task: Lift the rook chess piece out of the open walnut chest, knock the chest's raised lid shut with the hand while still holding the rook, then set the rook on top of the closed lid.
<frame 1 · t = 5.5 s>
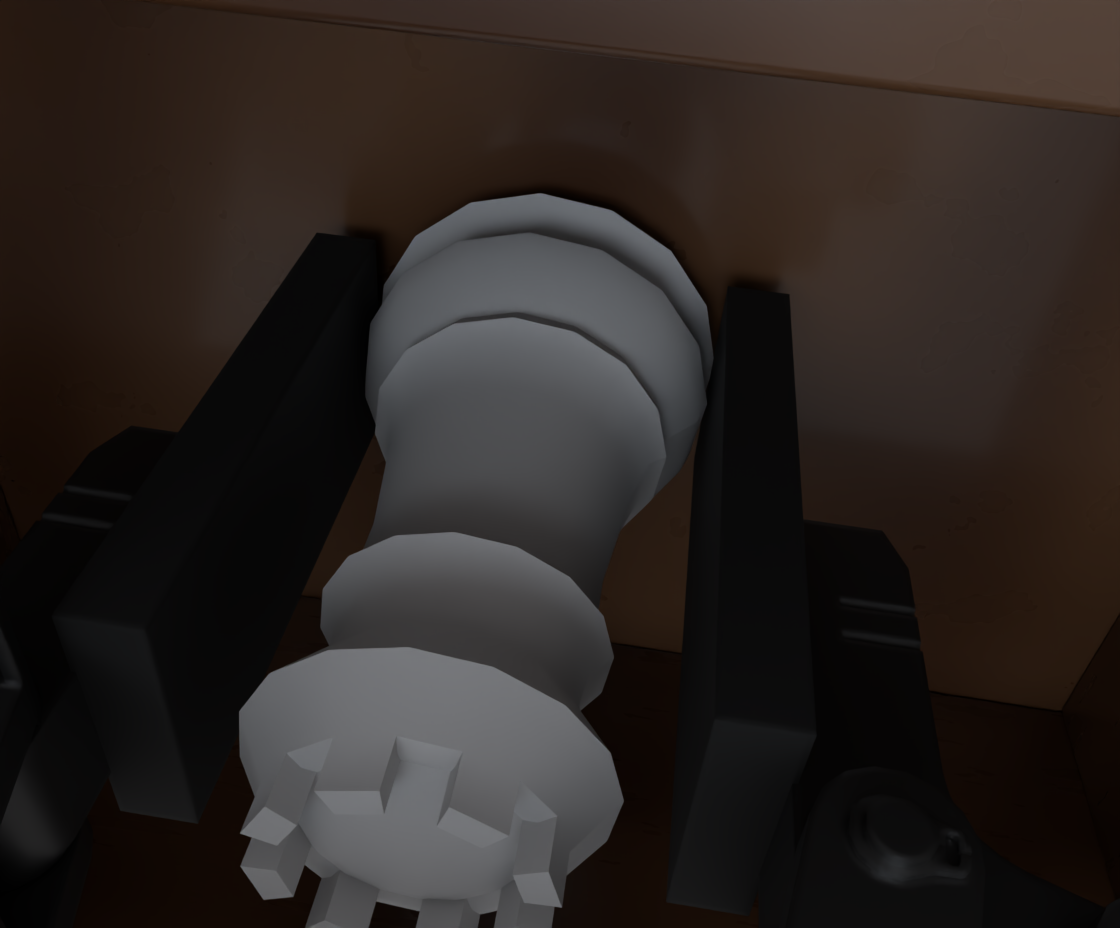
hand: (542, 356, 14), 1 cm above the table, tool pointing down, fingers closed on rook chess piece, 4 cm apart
rook chess piece: (551, 325, 14), resting on chest, touching gripper
chest: (555, 310, 15), on the table
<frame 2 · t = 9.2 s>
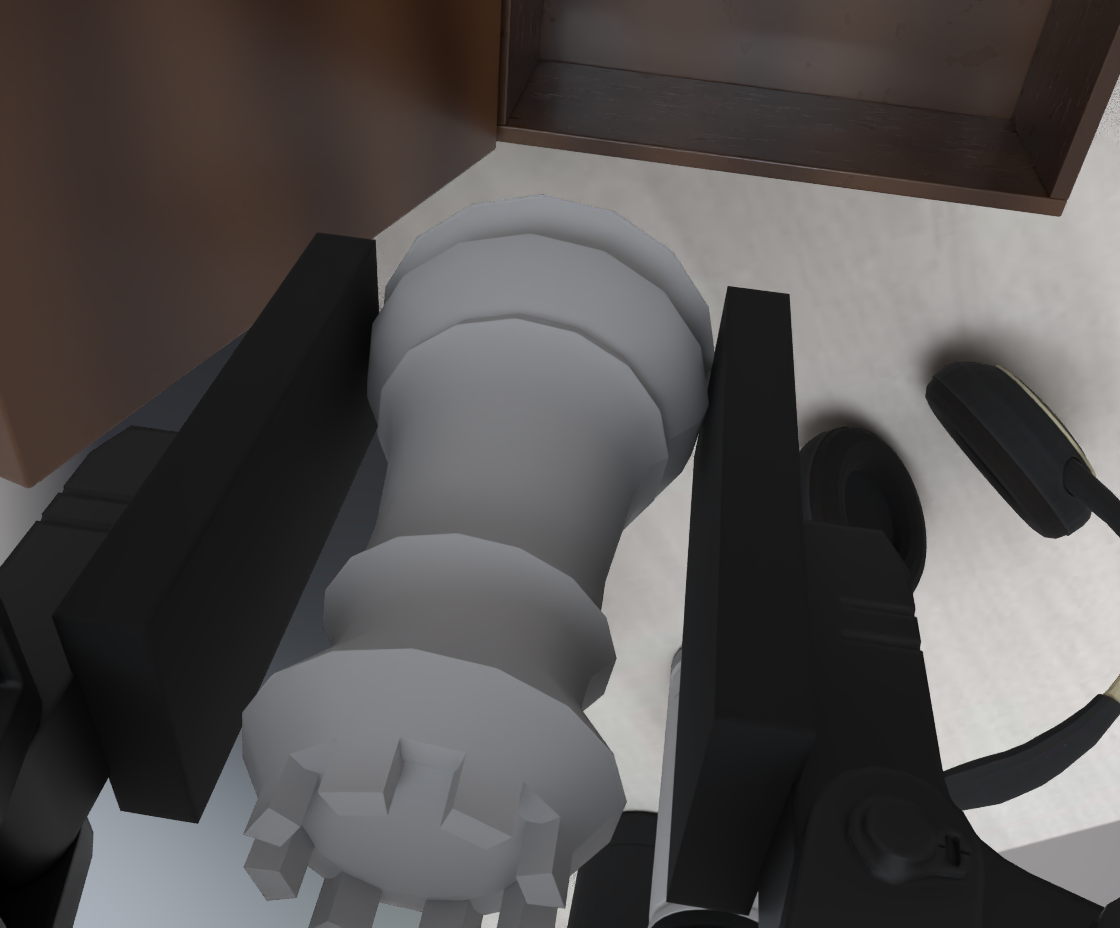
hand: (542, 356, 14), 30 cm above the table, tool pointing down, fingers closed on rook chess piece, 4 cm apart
rook chess piece: (552, 326, 14), point 29 cm above the table, touching gripper
travel mug: (721, 665, 62), on the table
headphones: (918, 426, 50), on the table
pen holder: (645, 842, 75), on the table
chest lid: (287, 15, 24), point 18 cm above the table, hinge at 106.1°
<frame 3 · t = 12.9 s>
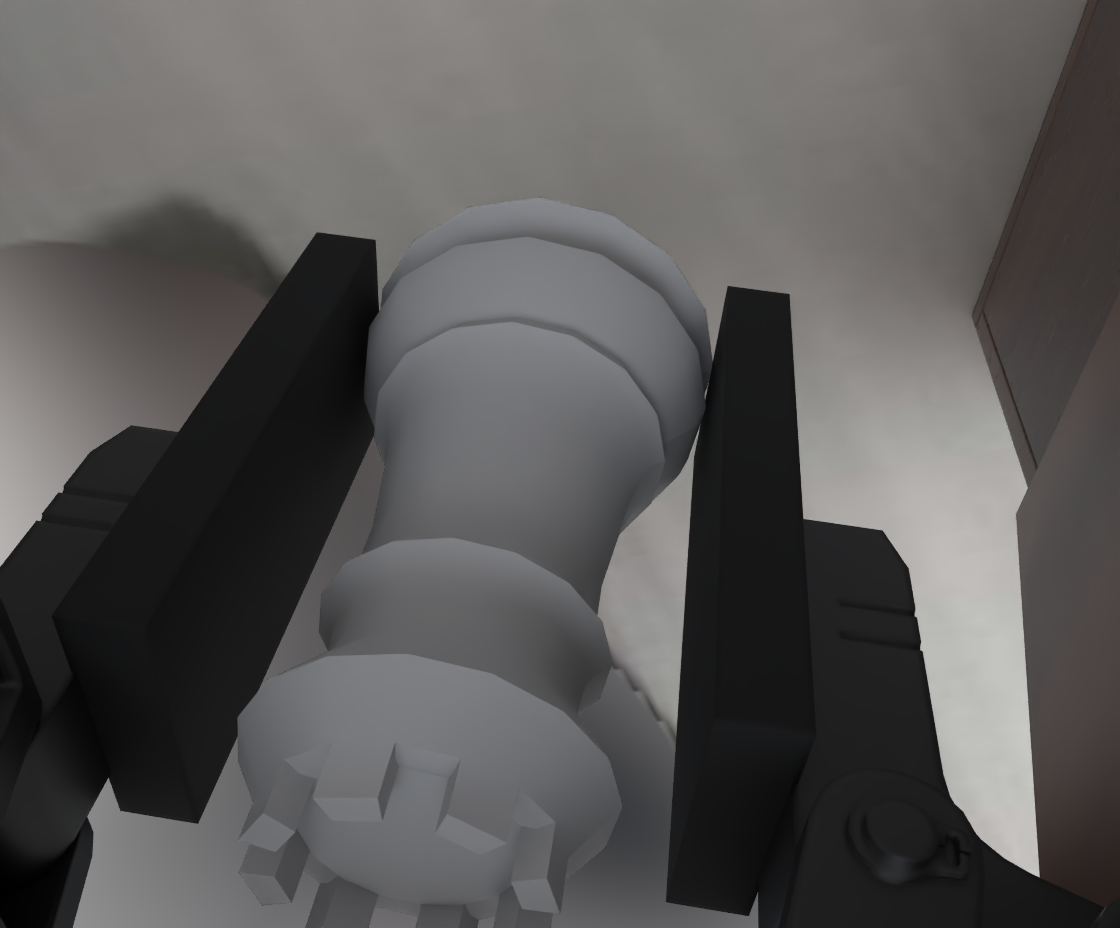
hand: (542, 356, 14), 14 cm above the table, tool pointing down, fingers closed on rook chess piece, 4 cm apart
rook chess piece: (550, 328, 14), point 13 cm above the table, touching gripper
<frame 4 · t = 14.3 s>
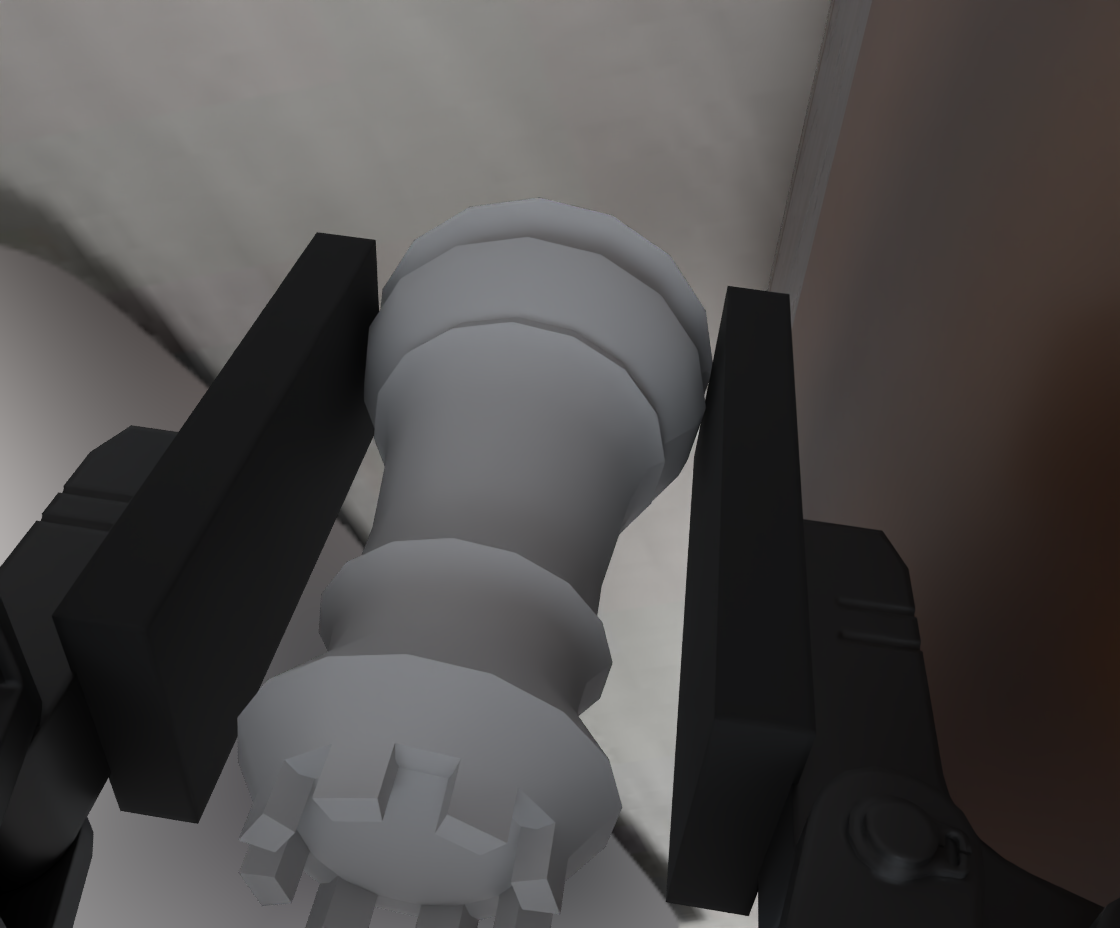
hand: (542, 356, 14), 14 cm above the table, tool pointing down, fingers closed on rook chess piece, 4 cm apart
rook chess piece: (549, 328, 14), point 13 cm above the table, touching gripper
chest lid: (1076, 672, 10), point 18 cm above the table, hinge at 81.9°, touching gripper
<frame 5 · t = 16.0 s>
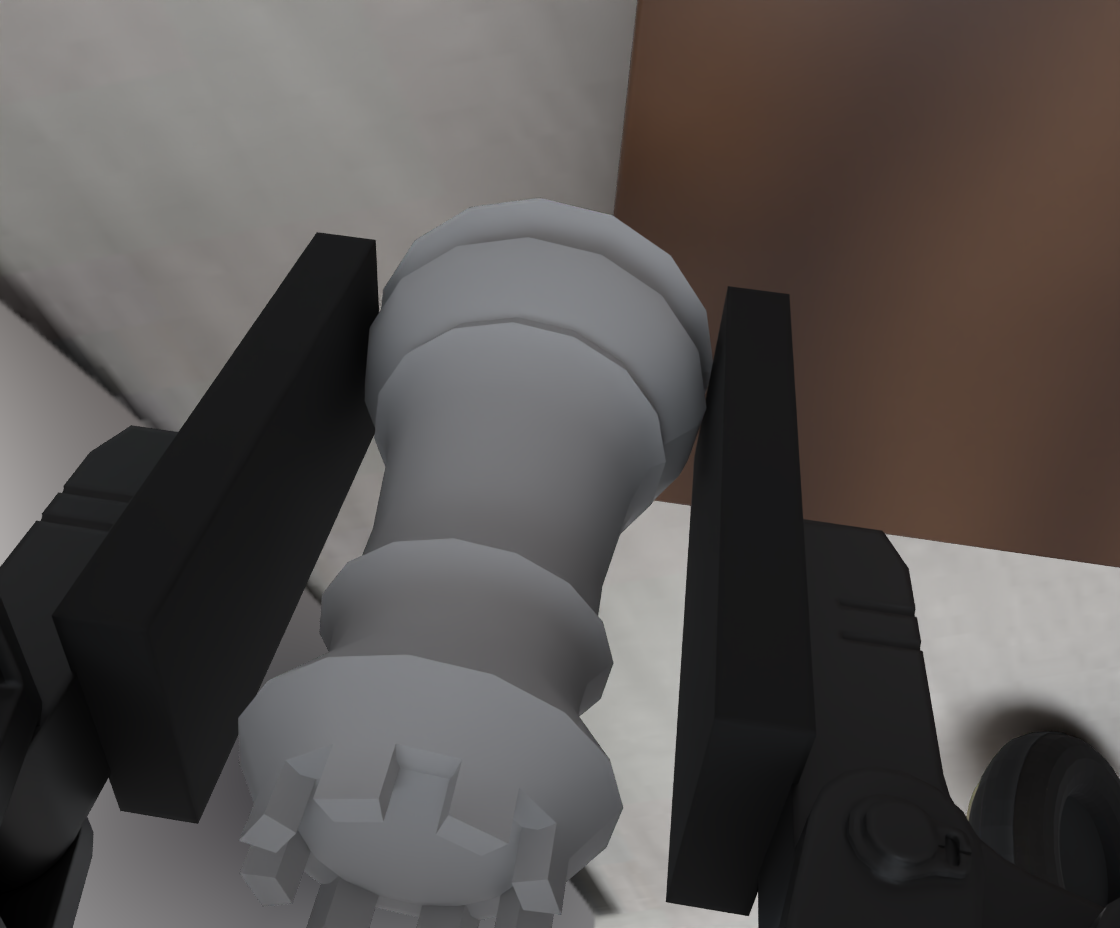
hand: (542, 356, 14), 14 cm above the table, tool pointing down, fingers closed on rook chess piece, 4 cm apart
rook chess piece: (550, 329, 14), point 13 cm above the table, touching gripper
when the fingers open (9 cm above the table, at t = 20.5 s): rook chess piece stays where it is, resting on chest lid.
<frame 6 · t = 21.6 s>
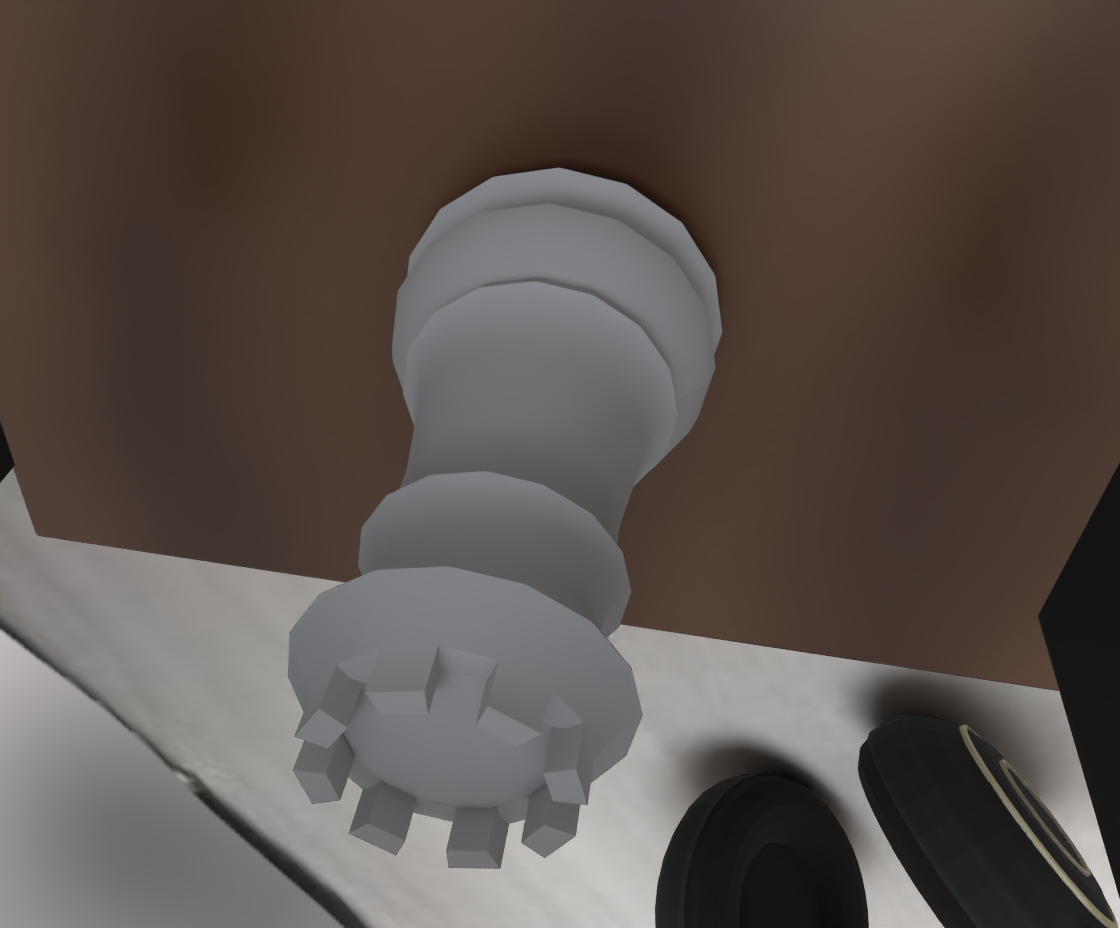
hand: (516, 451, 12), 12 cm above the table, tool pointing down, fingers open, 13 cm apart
rook chess piece: (566, 296, 15), point 8 cm above the table, touching chest lid
headphones: (855, 762, 34), on the table
chest lid: (599, 288, 15), point 8 cm above the table, hinge at -0.1°, touching chest, rook chess piece
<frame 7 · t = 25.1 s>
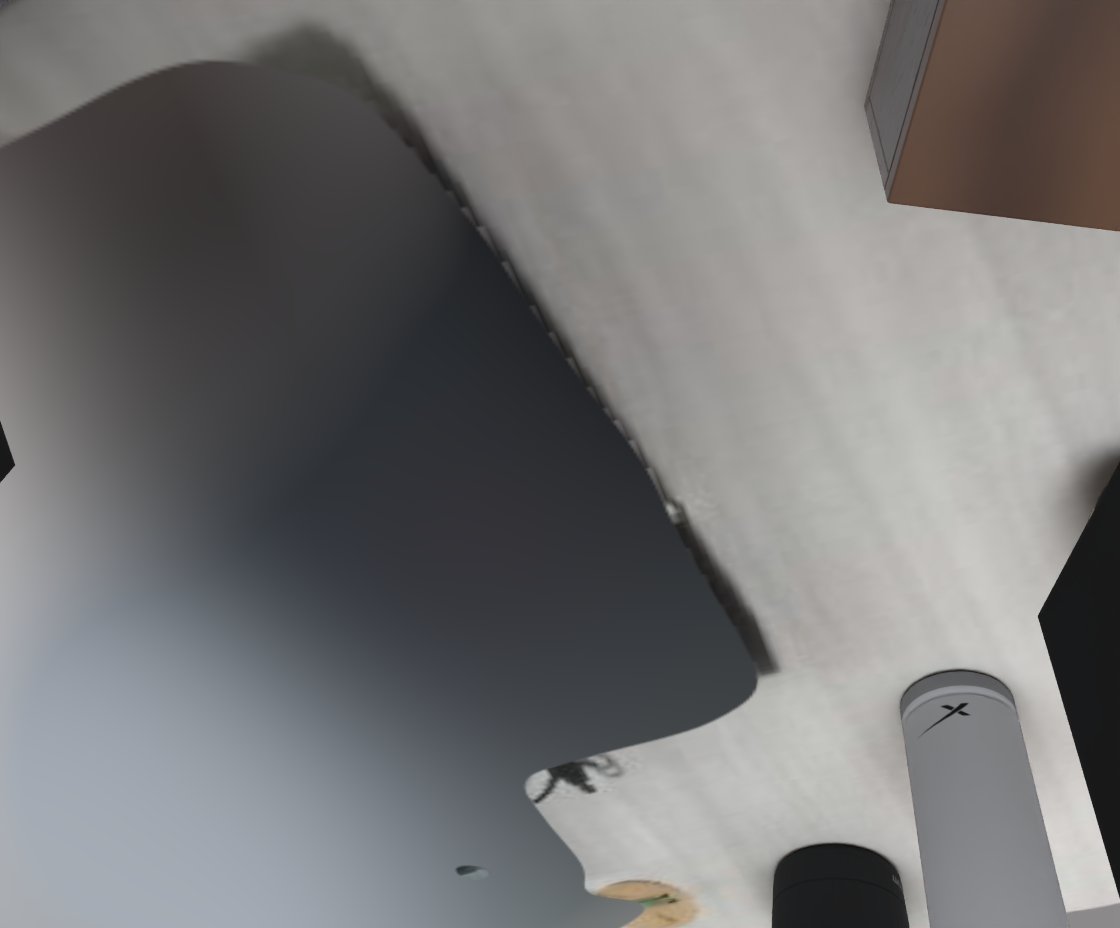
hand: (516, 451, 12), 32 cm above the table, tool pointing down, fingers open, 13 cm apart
travel mug: (952, 700, 61), on the table
pen holder: (836, 873, 74), on the table
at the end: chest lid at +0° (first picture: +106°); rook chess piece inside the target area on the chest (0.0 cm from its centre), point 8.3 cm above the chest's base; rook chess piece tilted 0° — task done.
